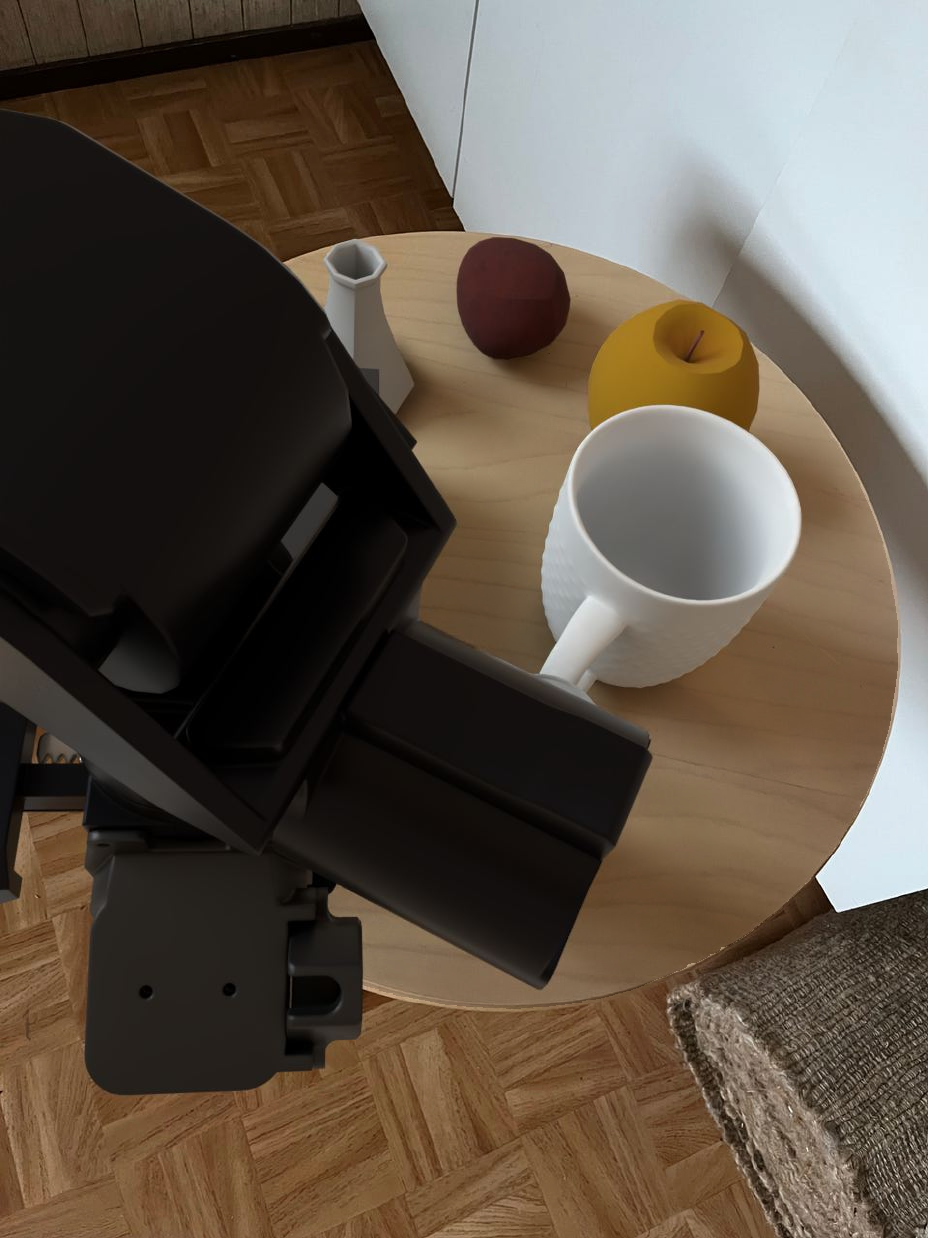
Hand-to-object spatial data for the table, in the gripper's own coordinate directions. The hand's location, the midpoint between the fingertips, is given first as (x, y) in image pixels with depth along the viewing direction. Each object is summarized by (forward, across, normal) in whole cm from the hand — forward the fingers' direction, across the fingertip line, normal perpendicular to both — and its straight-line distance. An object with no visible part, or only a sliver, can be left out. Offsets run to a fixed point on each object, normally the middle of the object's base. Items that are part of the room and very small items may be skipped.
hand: (241, 860), depth 38 cm
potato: (+11, +14, +37) cm, 41 cm away
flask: (+11, +4, +32) cm, 34 cm away
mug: (+11, +18, +15) cm, 26 cm away
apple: (+11, +22, +27) cm, 37 cm away
